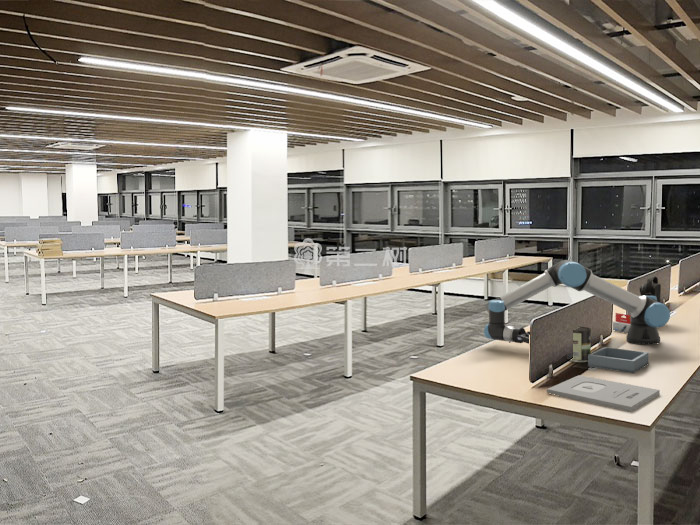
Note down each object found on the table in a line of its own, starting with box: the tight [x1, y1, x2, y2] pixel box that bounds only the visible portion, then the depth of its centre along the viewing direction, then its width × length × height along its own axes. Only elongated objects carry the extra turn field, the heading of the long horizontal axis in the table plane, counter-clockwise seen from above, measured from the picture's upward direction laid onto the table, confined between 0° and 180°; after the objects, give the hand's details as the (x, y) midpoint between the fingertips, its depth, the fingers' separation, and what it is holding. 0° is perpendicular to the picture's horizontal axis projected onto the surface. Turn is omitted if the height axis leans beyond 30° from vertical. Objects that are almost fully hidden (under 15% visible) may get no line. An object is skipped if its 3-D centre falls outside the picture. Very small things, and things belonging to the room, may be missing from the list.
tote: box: [587, 346, 650, 374], centre depth 249 cm, size 18×18×5 cm
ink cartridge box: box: [612, 312, 630, 334], centre depth 314 cm, size 2×11×10 cm, turn 25°
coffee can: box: [570, 326, 592, 363], centre depth 260 cm, size 10×10×14 cm
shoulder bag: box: [639, 275, 662, 303], centre depth 331 cm, size 23×9×28 cm, turn 142°
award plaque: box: [546, 374, 661, 413], centre depth 211 cm, size 25×30×2 cm
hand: (557, 340), depth 267 cm, fingers open, 13 cm apart
